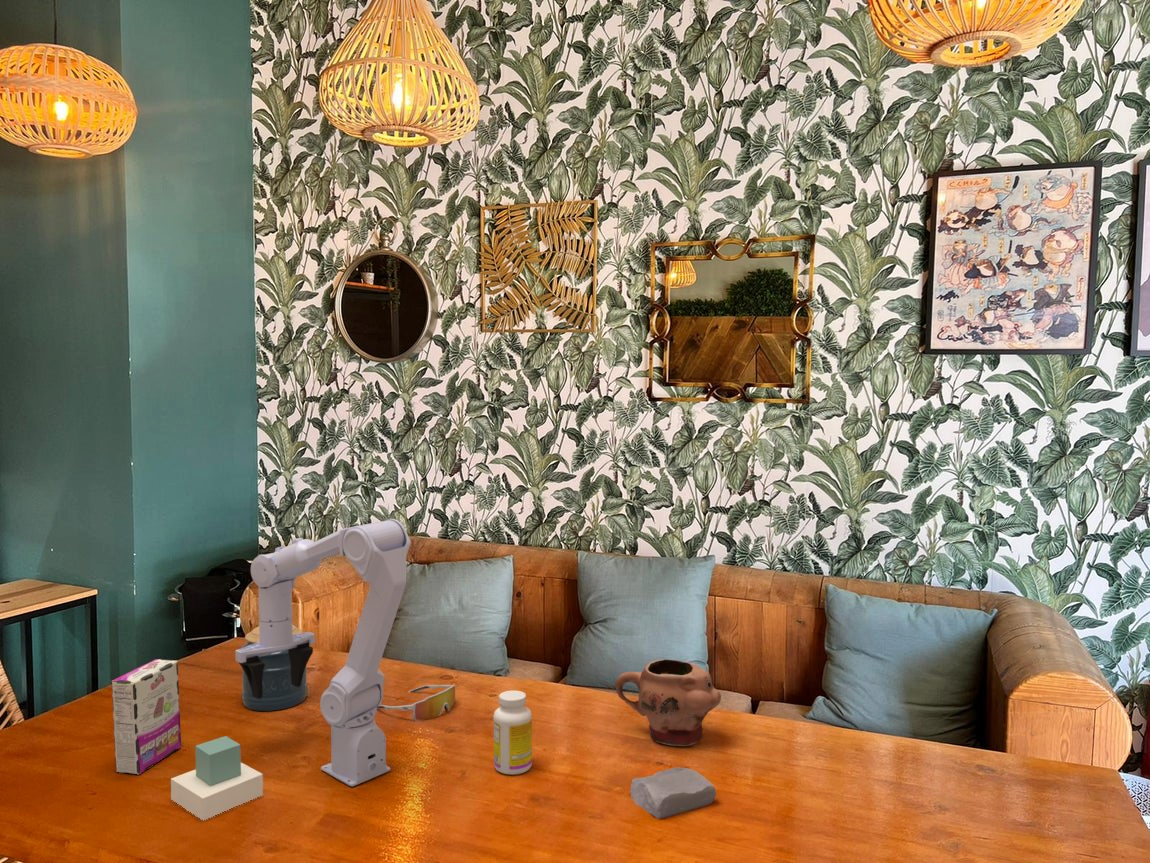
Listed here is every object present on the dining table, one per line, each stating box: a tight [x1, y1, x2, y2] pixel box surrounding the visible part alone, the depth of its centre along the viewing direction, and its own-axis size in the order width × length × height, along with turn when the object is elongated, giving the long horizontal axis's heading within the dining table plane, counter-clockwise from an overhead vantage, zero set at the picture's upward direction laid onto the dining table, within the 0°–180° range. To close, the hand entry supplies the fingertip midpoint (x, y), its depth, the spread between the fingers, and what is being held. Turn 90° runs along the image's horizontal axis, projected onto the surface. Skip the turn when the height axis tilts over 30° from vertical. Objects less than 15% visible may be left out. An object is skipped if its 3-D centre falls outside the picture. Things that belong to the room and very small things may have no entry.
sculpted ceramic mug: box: [614, 658, 722, 747], centre depth 156 cm, size 20×12×14 cm, turn 80°
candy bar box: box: [111, 658, 182, 776], centre depth 146 cm, size 11×5×16 cm, turn 168°
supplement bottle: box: [493, 690, 533, 776], centre depth 144 cm, size 7×7×13 cm
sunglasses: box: [377, 684, 456, 722], centre depth 171 cm, size 14×15×5 cm
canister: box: [240, 624, 308, 712], centre depth 173 cm, size 13×13×18 cm
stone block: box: [630, 766, 717, 820], centre depth 133 cm, size 12×5×10 cm
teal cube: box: [194, 735, 242, 786], centre depth 133 cm, size 5×5×5 cm
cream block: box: [170, 762, 264, 822], centre depth 133 cm, size 10×10×4 cm
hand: (277, 691), depth 151 cm, fingers open, 7 cm apart
